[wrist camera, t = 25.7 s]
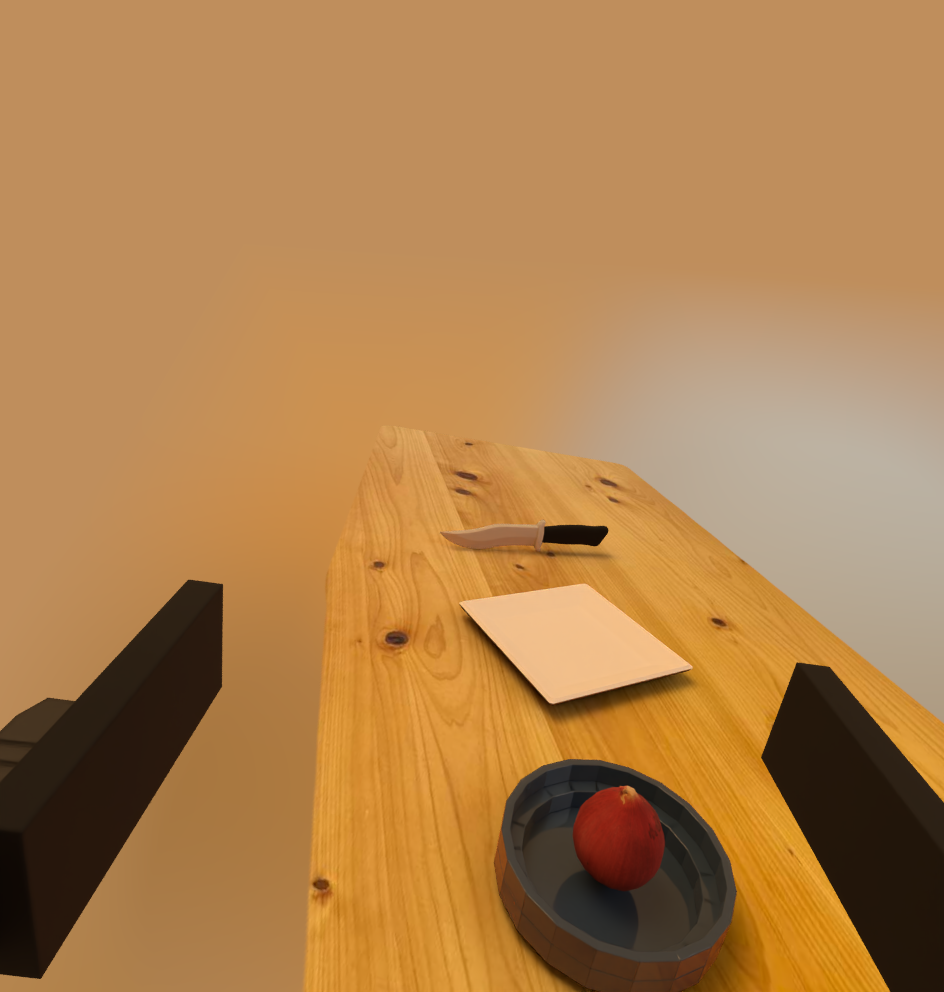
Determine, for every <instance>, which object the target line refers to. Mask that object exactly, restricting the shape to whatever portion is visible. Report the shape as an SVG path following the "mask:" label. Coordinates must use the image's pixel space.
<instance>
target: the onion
mask: <svg viewBox="0 0 944 992" xmlns="http://www.w3.org/2000/svg"><path fill="white" fill-rule="evenodd" d="M573 841H574V847H575V851H576V854H577V857H578V859H579V861H580V862H581V864H582V865H583V867H584V869H585V870H586V871H587V872H588V873H589V874H590V875H591V876H592V877H593V878H594V879H595V880H596V881H598V882H600V883H602V884H603V885H605V886H607V887H608V888H611V889H616V890H620V891H629V890H633V889H638V888H639V887H641V886H643V885H645V884H646V883H647V882H648V881H649V880H650V879H652V878H653V877H654V876H655V874H656V873H657V871H658V869H659V868H660V865H661V861H662V857H663V853H664V847H665V840H664V833H663V830H662V827H661V823H660V820H659V817H658V815H657V813H656V811H655V810H654V809H653V807H652V806H651V805H650V804H649V803H648V801H647V800H646V799H645V798H644V797H643V796H641V795H640V794H638V793H636V791H635V789H634V788H632V787H630V786H620V787H612V788H608V789H604V790H601V791H599V792H597V793H596V794H594V795H593V796H592V797H590V798H589V799H588V800H586V801H585V802H584V803H583V804H582V806H581V807H580V809H579V812H578V814H577V817H576V820H575V823H574V827H573Z"/></svg>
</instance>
